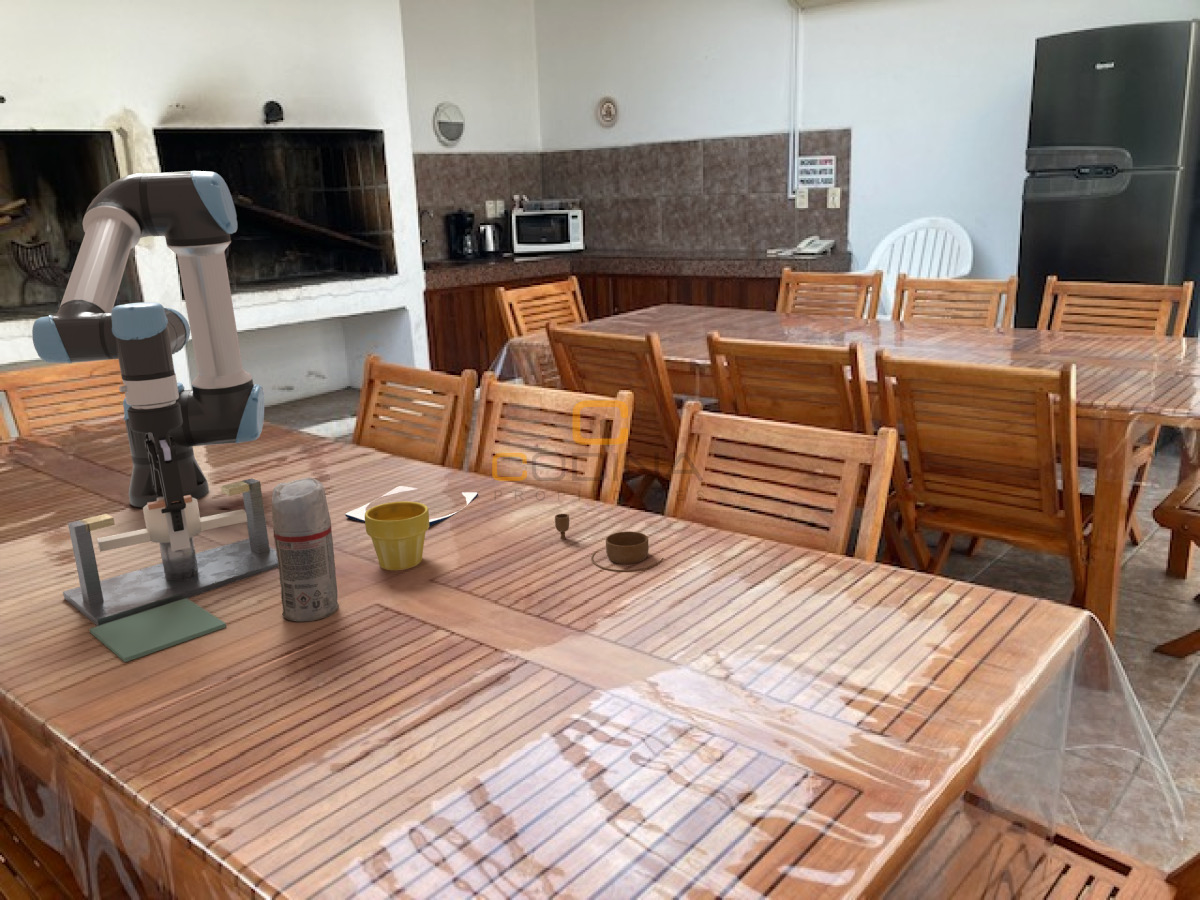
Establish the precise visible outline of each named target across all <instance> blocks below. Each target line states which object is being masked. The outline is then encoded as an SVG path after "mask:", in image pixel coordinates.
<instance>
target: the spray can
mask: <svg viewBox="0 0 1200 900" xmlns="http://www.w3.org/2000/svg"><path fill="white" fill-rule="evenodd" d="M271 496H272V497H271V498H272V499H271V515H272V516H271V517H272V525H273V529H272V530H273V540H274V545H275V546H274V547H275V550H276V555H277V559H278V567H277V568H278V573H279V582H280V583H279V584H280V594H281V595H280V596H281V597H280V598H281V605H282V614H281V615H282V617H283V618H285V619H287V620H288V621H291V622H313V621H318V620H321V619H324V618H327V617H330V616H332V615H333V614H335V613H336V612H337V611H338V609H339V607H340V605H339V602H338V598H339V597H338V581H337V577H336V576H337V574H336V573H337V572H336V562H335V561H336V560H335V553H334V552H335V551H334V540H333V531H332V519H331V515H330V511H329V510H330V509H329V506H328V502H327V496H326V490H325V486H324V484H323V483H322V482H321V481H320V480H318V479H316V478H313V477H311V476H310V477H309V476H308V477H305V478H301V479H293V480H292V481H288V482H285V481H284V482H281V483H278V484H277V485H276V486H275V487H274V488H273V490H272V495H271Z"/></svg>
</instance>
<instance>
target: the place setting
mask: <svg viewBox="0 0 1200 900" xmlns="http://www.w3.org/2000/svg"><path fill="white" fill-rule="evenodd" d="M554 525H555V529H556V531H557V532H560V537H559V540H566V539H567V537H566V532H568V530H569V529H570V515H569V514H568V513H558V514H555V516H554ZM649 549H650V547H649V537H648V536H647V535H646V534H645V533H642V532H638V531H619V532H613V533H612V534H609V535H608V536H607V537H606V538H605V552H606V556H607V558H608V559H609V560H610V561H611V562H613V563H614V564H615V563H616V564H620V565H621V564H622V565H632V564H637V563H641V562H643V561H644V560H645V559H646V558H647V557H648V554H649ZM598 552H599V550H596V551H594V552H593V553H592V555H591V557H590V559H591V562H592V564H593V565H594V566H595V567H597V568H599V569H601V570H606V571H610V572H617V573H618V572H619V573H629V572H630V573H632V572H640V571H644V570H648V569H651V568H653V567H655V566H658V565H659V564H661V563H662V562H663V560H664V557H661V558H660V560H659V561H658V562H656V563H654V564H652V565H649V566H647V567H642V568H635V569H616V568H609V567H604V566H602V565H600V564H598V563H597V562H595V560H594V556H595V555H596V553H598Z"/></svg>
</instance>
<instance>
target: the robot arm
mask: <svg viewBox="0 0 1200 900" xmlns="http://www.w3.org/2000/svg"><path fill="white" fill-rule="evenodd" d="M232 197H233V196H232V194H231V192H230V189H229V187H228V184H227V183H226V182H225V179H224V178H223V177H222V176H221V175H220V174H218V173H217V172H214V171H206V170H205V171H204V170H203V171H201V170H190V171H189V170H188V171H186V170H185V171H174V172H173V171H171V172H170V171H169V172H151V173H149V172H148V173H145V172H143V173H142V172H141V173H131V174H129V175H125V176H123V177H121V178H118V179H117V180H115V181H113V182H112V183H110V184H108V185H107V186H106V187H104V189H102V190H101V191H100V192H99V193H98V194H97V195H96V196H95V197H94V198H93V199H92V200H91V203H90V204H89V205H88V207H87V208H86V211H85V213H84V216H83V219H82V228H83V232H84V236H83V240H82V242H81V245H80V248H79V251H78V253H77V256H76V260H75V262H74V265H73V268H72V270H71V273H70V277H69V280H68V283H67V285H66V289H65V291H64V293H63V298H62V300H61V303H60V305H59V308H58V311H57V312H56V315H53V314H49V315H48V316H42V317H41V316H40V317H39V318H37V319H35V321H34V322H33V324H32V330H31V331H32V332H31V334H32V336H31V337H32V344H33V347H34V349H35V351H36V353H37V356H38V358H40V359H41V360H42V361H44V362H45V363H50V364H52V363H53V364H55V363H56V364H57V363H59V364H60V363H62V364H63V363H67V364H72V363H73V364H74V363H83V362H96V361H98V362H99V361H108V360H110V361H111V360H118V364H119V370H120V374H121V380H122V383H123V385H120V386H119V388H118V389H119V392H120V393H124V398H123V400H122V406H123V414H124V415H123V416H124V417H123V421H124V422H125V423H124V424H125V428H126V432H127V439H128V444H129V450H130V455H131V461H132V472H131V476H130V483H129V488H128V498H129V504H130V505H131V506H132V507H134V508H135V507H136V508H142V509H143V507H144V506H146V505H147V503H149V502H154V501H158V500H162V499H164V501H165V506H166V507H165V509H162V510H161V512H162V514H163V513H165V515H166V521H167V526H168V532H169V538H170V544H171V550H172V551H177V550H182V549H186V548H191V547H190V541H189V535H188V529H187V522H186V516H185V510H184V508H186V503H185V501H184V496H186V495H191V497H192V498H195V499H197V500H199V499H201V498H203V497H205V496H207V495H208V494H209V492H210V489H209V483H208V482H209V481H208V479H207V477H206V476H205V474H204V472H203V471H202V469H201V467H200V464H199V463H198V461H197V460H196V457H195V451H194V447H200V446H202V447H203V446H213V445H214V446H216V445H226V444H240V443H247V442H253V441H256V440H257V439H259V438H260V436H261V433H262V431H263V427H264V418H265V393H264V389H263V386H262V385H261V384H257V383H255V384H254V380H253V376H252V374H250V373H249V372H248V371H247V370H245V369H244V368H243V367H244V366H243V362H242V361H243V360H242V355H241V350H240V349H241V348H240V342H239V337H238V336H239V335H238V330H237V324H236V318H235V316H236V315H235V312H234V311H235V310H234V305H233V303H234V302H233V299H232V298H233V297H232V292H231V286H230V285H231V284H230V279H229V272H228V267H227V261H226V254H225V251H226V250H227V248H228V247H229V245H230V244H231V243H232V240H231V235H233V234H234V233H236V232H237V230H238V220H237V217H238V215H237V211H236V206H235V204H234V200H233V198H232ZM147 237H164V238H165V242H166V247H167V248H168V249H169V250H171V251H172V252H173V253H175V254H176V256H177V262H178V267H179V272H180V279H181V284H182V290H183V291H182V292H183V295H184V302H185V309H186V313H187V318H188V320H187V318H186V317H185V316H184V315H183V314H182V313H181V312H180V311H177V310H175V309H173V308H170V307H164V306H163V305H162V303H159V302H154V301H153V302H152V301H151V302H150V301H149V302H147V301H145V302H132V303H125V304H119V305H116V306H114V305H115V303H116V299H117V295H118V292H119V289H120V286H121V282H122V279H123V275H124V273H125V269H126V265H127V262H128V259H129V256H130V252H131V250H132V249H133V248H135V247H136V246H137V245H138V243H139V242H140V240H141V239H142V238H147ZM190 336H191V340H192V341H191V342H192V347H193V353H194V357H195V364H196V370H197V375H196V376H195V377H194V379H193V380H192V381H191V388H192V389H185V386H184V385H183V383H182V382H178V381H177V380H178V379H177V376H176V374H177V373H176V372H175V366H174V359H173V355H175V354H176V353H179V351H182V349H184V347H185V346H186V344H187V343H188V341H189V339H190ZM176 501H179V502H176ZM172 502H174V503H172Z"/></svg>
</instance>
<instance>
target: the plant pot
mask: <svg viewBox="0 0 1200 900" xmlns="http://www.w3.org/2000/svg"><path fill="white" fill-rule="evenodd" d="M429 512H430V511H429V508H428V506H427V505H426V504H424V503H422V502H417V501H409V500H408V501H407V500H406V501H404V500H403V501H391V502H387V503H386V502H385V503H381V504H378V505H375V506H373V507H370V508H369V509H367V510H366V512H365V523H364V525H365V527H364V528H365V532H366V535H367V536H369V537H370V539H371V540H372V545H373V547H374V551H375V555H376V557H377V561H378V563H379V566H380V568H381V569H384V570H387V571H403V570H407V569H410V568H413V567H416V566H418V565H420V564H421V563H422V560H423V553H424V547H425V537H426V532H427V531H428V530H429V528H430V526H429V519H430V513H429Z"/></svg>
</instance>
